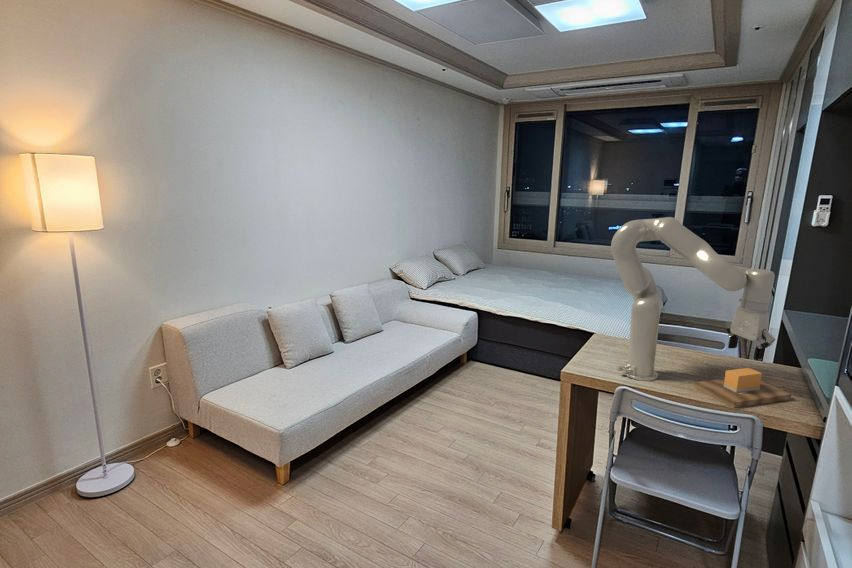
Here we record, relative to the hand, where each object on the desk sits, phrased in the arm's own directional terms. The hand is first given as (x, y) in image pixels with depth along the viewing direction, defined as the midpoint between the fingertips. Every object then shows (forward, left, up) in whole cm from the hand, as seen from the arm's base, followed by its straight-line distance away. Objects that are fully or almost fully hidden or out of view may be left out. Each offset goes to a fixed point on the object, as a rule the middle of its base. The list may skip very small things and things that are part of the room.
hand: (744, 353), depth 154 cm
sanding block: (0, 0, -13) cm, 13 cm away
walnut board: (+1, -1, -15) cm, 15 cm away
